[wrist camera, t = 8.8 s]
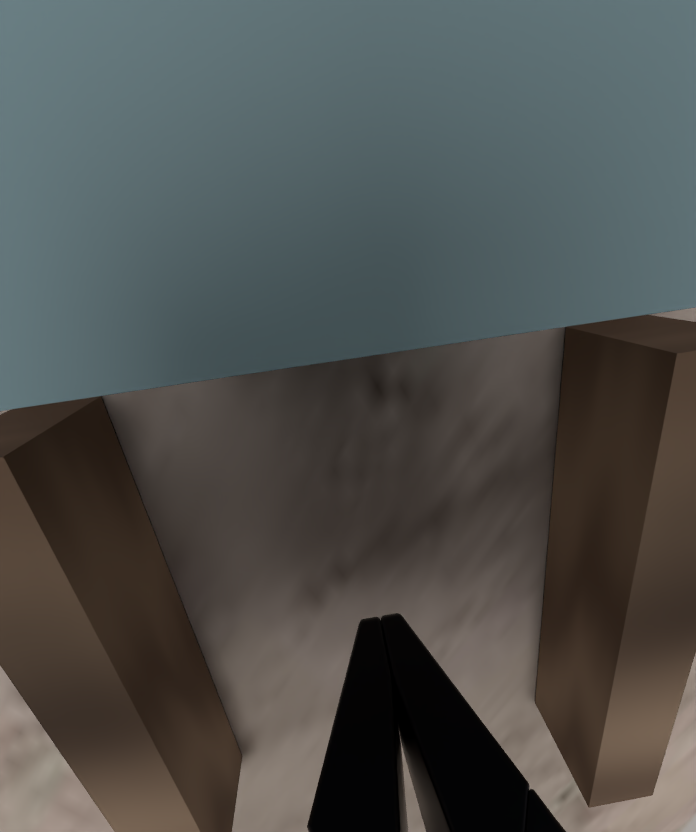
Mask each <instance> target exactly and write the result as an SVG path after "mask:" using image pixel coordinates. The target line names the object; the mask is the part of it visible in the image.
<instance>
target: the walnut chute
mask: <svg viewBox="0 0 696 832" xmlns="http://www.w3.org/2000/svg"><path fill="white" fill-rule="evenodd" d="M695 652H696V322H691V321H685V320H678V319H671V318H664V317H657V316H651V315H642V316H636V317H629V318H622V319H616V320H609V321H602V322H595V323H589V324H582V325H575V326H569V327H566V334H565V346H564V358H563V371H562V383H561V395H560V407H559V419H558V431H557V443H556V456H555V468H554V480H553V492H552V504H551V516H550V528H549V541H548V553H547V565H546V577H545V589H544V601H543V613H542V625H541V638H540V650H539V662H538V674H537V686H536V698H535V704H536V705H537V707H538V709H539V711H540V713H541V715H542V717H543V719H544V721H545V723H546V725H547V727H548V729H549V731H550V733H551V735H552V737H553V739H554V741H555V743H556V744H557V746H558V748H559V750H560V752H561V754H562V756H563V758H564V760H565V762H566V764H567V766H568V768H569V770H570V772H571V774H572V776H573V778H574V780H575V782H576V784H577V785H578V787H579V789H580V791H581V793H582V795H583V797H584V799H585V801H586V803H587V805H588V807H589V808H590V807H595V806H600V805H605V804H610V803H615V802H620V801H625V800H631V799H636V798H641V797H646V796H651V795H653V792H654V788H655V785H656V782H657V778H658V775H659V772H660V768H661V765H662V762H663V758H664V755H665V752H666V749H667V745H668V742H669V739H670V735H671V732H672V729H673V725H674V722H675V719H676V715H677V712H678V709H679V705H680V702H681V699H682V695H683V692H684V689H685V686H686V682H687V679H688V676H689V672H690V669H691V666H692V662H693V659H694V656H695ZM0 665H1V667H2V668H3V670H4V671H5V673H6V674H7V676H8V677H9V679H10V680H11V681H12V683H13V684H14V686H15V687H16V689H17V690H18V692H19V693H20V695H21V696H22V697H23V699H24V700H25V702H26V703H27V705H28V706H29V708H30V709H31V711H32V712H33V714H34V715H35V716H36V718H37V719H38V721H39V722H40V724H41V725H42V727H43V728H44V730H45V731H46V732H47V734H48V735H49V737H50V738H51V740H52V741H53V743H54V744H55V746H56V747H57V748H58V750H59V751H60V753H61V754H62V756H63V757H64V759H65V760H66V762H67V763H68V764H69V766H70V767H71V769H72V770H73V772H74V773H75V775H76V776H77V778H78V779H79V780H80V782H81V783H82V785H83V786H84V788H85V789H86V791H87V792H88V794H89V795H90V797H91V798H92V799H93V801H94V802H95V804H96V805H97V807H98V808H99V810H100V811H101V813H102V814H103V815H104V817H105V818H106V820H107V821H108V823H109V824H110V826H111V827H112V829H113V830H114V831H115V832H232V826H233V818H234V811H235V804H236V797H237V790H238V783H239V776H240V768H241V761H242V755H241V753H240V750H239V748H238V745H237V742H236V740H235V737H234V735H233V732H232V730H231V727H230V725H229V722H228V720H227V717H226V714H225V712H224V709H223V707H222V704H221V702H220V699H219V697H218V694H217V691H216V689H215V686H214V684H213V681H212V679H211V676H210V674H209V671H208V669H207V666H206V663H205V661H204V658H203V656H202V653H201V651H200V648H199V646H198V643H197V641H196V638H195V635H194V633H193V630H192V628H191V625H190V623H189V620H188V618H187V615H186V612H185V610H184V607H183V605H182V602H181V600H180V597H179V595H178V592H177V590H176V587H175V584H174V582H173V579H172V577H171V574H170V572H169V569H168V567H167V564H166V561H165V559H164V556H163V554H162V551H161V549H160V546H159V544H158V541H157V539H156V536H155V533H154V531H153V528H152V526H151V523H150V521H149V518H148V516H147V513H146V511H145V508H144V505H143V503H142V500H141V498H140V495H139V493H138V490H137V488H136V485H135V482H134V480H133V477H132V475H131V472H130V470H129V467H128V465H127V462H126V460H125V457H124V454H123V452H122V449H121V447H120V444H119V442H118V439H117V437H116V434H115V432H114V429H113V426H112V424H111V421H110V419H109V416H108V414H107V411H106V409H105V406H104V403H103V401H102V398H101V396H99V397H92V398H86V399H79V400H72V401H65V402H59V403H52V404H45V405H39V406H32V407H25V408H18V409H12V410H10V411H7V412H5V413H3V414H1V415H0Z"/></svg>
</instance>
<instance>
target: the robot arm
mask: <svg viewBox="0 0 696 832" xmlns="http://www.w3.org/2000/svg"><path fill="white" fill-rule="evenodd" d="M399 733H400V735H399ZM400 737H401V742H402V746H403V750H404V754H405V758H406V762H407V765H408V769H409V772H410V776H411V779H412V783H413V786H414V790H415V793H416V797H417V800H418V804H419V807H420V811H421V815H422V818H423V822H424V825H425V829H426V832H566V831H565V830H564V829H563V827H562V826H561V825H560V824H559V822H558V821H557V820H556V819H555V817H554V816H553V815H552V813H551V812H550V811H549V809H548V808H547V807H546V805H545V804H544V803H543V801H542V800H541V799H540V797H539V796H538V795H537V793H536V792H535V791H534V790H533V789H530V790H529V783H528V782H527V781H526V779H525V778H524V777H523V775H522V774H521V773H520V771H519V770H518V769H517V767H516V766H515V765H514V763H513V762H512V761H511V759H510V758H509V757H508V755H507V754H506V753H505V752H504V750H503V749H502V748H501V746H500V745H499V744H498V742H497V741H496V740H495V738H494V737H493V736H492V734H491V733H490V732H489V730H488V729H487V728H486V726H485V725H484V724H483V722H482V721H481V720H480V718H479V717H478V716H477V714H476V713H475V712H474V710H473V709H472V708H471V707H470V705H469V704H468V703H467V701H466V700H465V699H464V697H463V696H462V695H461V693H460V692H459V691H458V689H457V688H456V687H455V685H454V684H453V683H452V681H451V680H450V679H449V677H448V676H447V675H446V673H445V672H444V671H443V669H442V668H441V667H440V666H439V664H438V663H437V662H436V660H435V659H434V658H433V656H432V655H431V654H430V652H429V651H428V650H427V648H426V647H425V646H424V644H423V643H422V642H421V640H420V639H419V638H418V636H417V635H416V634H415V632H414V631H413V630H412V628H411V627H410V626H409V624H408V623H407V622H406V621H405V619H404V618H403V617H402V616H401V615H400V614H398V613H396V614H390V615H384V616H382V617H381V621H380V619H379V618H378V617H373V618H367V619H362V620H361V621H360V623H359V626H358V630H357V633H356V637H355V641H354V645H353V649H352V653H351V657H350V661H349V665H348V669H347V673H346V677H345V680H344V684H343V688H342V692H341V696H340V700H339V704H338V708H337V712H336V716H335V720H334V724H333V727H332V731H331V735H330V739H329V743H328V747H327V751H326V755H325V759H324V763H323V767H322V771H321V774H320V778H319V782H318V786H317V790H316V794H315V798H314V802H313V806H312V810H311V814H310V818H309V821H308V825H307V828H308V831H309V832H408V826H407V813H406V801H405V788H404V776H403V763H402V752H401V743H400Z"/></svg>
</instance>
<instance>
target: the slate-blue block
mask: <svg viewBox="0 0 696 832" xmlns="http://www.w3.org/2000/svg"><path fill="white" fill-rule="evenodd" d="M694 307H696V0H0V411H3V410H10V409H17V408H23V407H30V406H37V405H44V404H50V403H57V402H64V401H70V400H77V399H84V398H90V397H97V396H104V395H111V394H117V393H124V392H131V391H137V390H144V389H151V388H158V387H164V386H171V385H178V384H184V383H191V382H198V381H205V380H211V379H218V378H225V377H231V376H238V375H245V374H252V373H258V372H265V371H272V370H278V369H285V368H292V367H299V366H305V365H312V364H319V363H325V362H332V361H339V360H345V359H352V358H359V357H366V356H372V355H379V354H386V353H392V352H399V351H406V350H413V349H419V348H426V347H433V346H439V345H446V344H453V343H460V342H466V341H473V340H480V339H486V338H493V337H500V336H507V335H513V334H520V333H527V332H533V331H540V330H547V329H554V328H560V327H567V326H574V325H580V324H587V323H594V322H601V321H607V320H614V319H621V318H627V317H634V316H641V315H647V314H654V313H661V312H668V311H674V310H681V309H688V308H694Z"/></svg>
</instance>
